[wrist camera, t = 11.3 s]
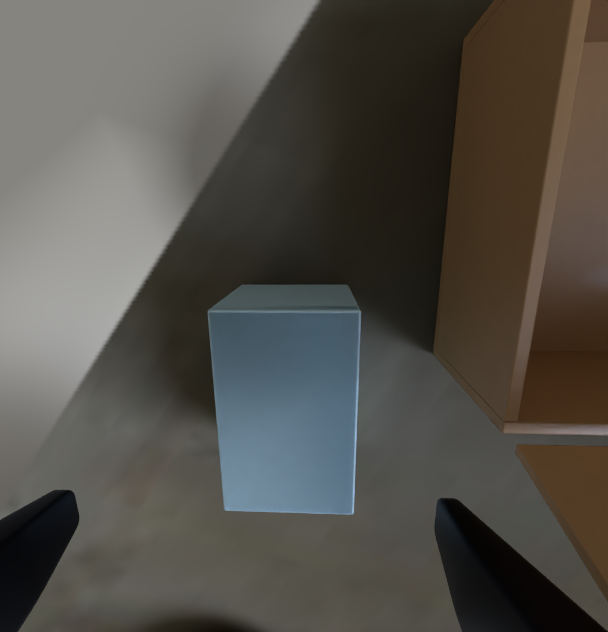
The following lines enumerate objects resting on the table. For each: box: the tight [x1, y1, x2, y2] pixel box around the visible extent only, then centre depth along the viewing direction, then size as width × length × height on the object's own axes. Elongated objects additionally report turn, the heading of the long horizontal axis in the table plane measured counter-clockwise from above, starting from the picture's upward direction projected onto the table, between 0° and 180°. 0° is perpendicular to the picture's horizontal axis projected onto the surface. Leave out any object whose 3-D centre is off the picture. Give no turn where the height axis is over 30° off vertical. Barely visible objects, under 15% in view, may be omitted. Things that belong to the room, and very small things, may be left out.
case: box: [208, 285, 361, 514], centre depth 14 cm, size 5×8×5 cm, turn 1°
